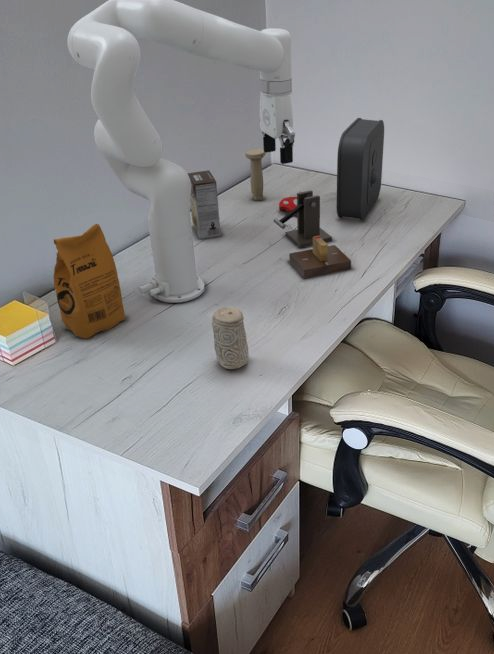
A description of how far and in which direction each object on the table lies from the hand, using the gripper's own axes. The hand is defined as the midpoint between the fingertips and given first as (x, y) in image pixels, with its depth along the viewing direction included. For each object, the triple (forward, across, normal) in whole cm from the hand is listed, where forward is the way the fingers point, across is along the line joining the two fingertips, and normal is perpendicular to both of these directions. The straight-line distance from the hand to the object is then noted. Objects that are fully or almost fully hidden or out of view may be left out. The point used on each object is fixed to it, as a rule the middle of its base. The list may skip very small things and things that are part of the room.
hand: (278, 157), depth 168 cm
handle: (+24, -33, +8) cm, 42 cm away
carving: (+24, +45, -33) cm, 61 cm away
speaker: (+24, -11, +33) cm, 42 cm away
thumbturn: (+22, +16, +4) cm, 27 cm away
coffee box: (+24, -18, -15) cm, 34 cm away
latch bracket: (+24, 0, +9) cm, 26 cm away
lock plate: (+24, +16, +4) cm, 29 cm away
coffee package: (+24, +17, -54) cm, 62 cm away
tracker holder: (+24, -20, +16) cm, 35 cm away
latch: (+17, 0, +5) cm, 17 cm away
